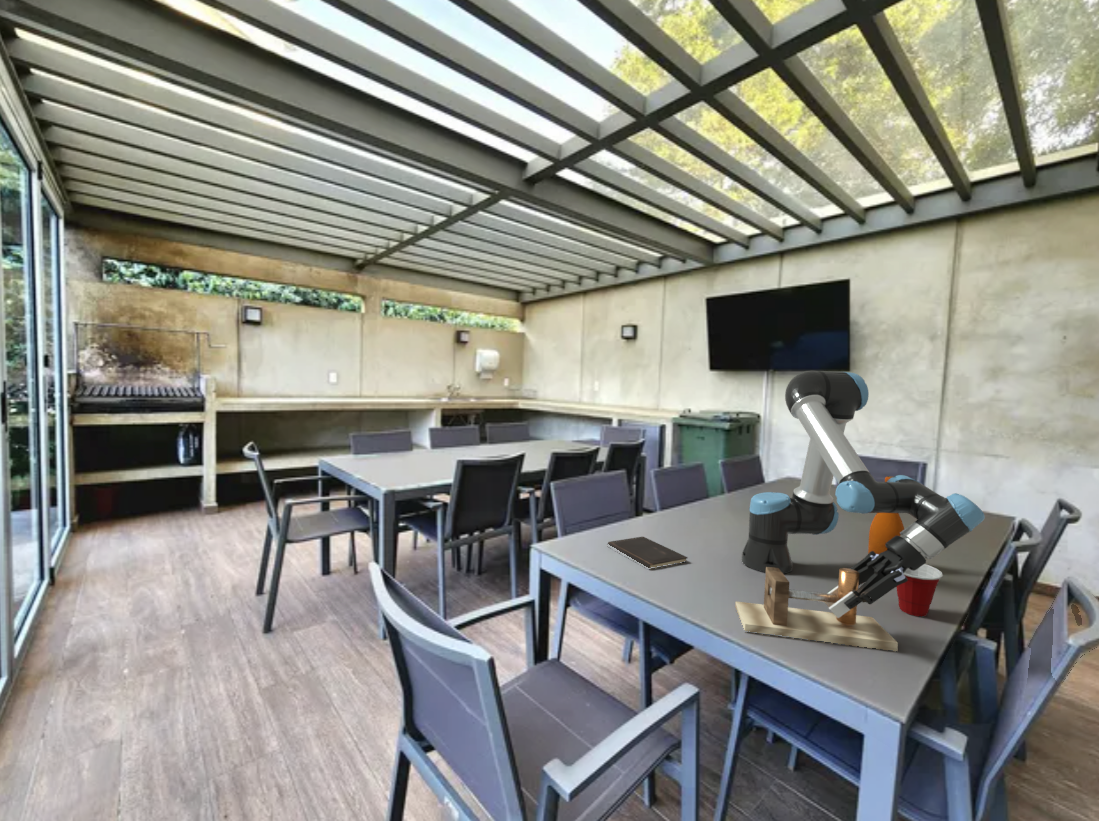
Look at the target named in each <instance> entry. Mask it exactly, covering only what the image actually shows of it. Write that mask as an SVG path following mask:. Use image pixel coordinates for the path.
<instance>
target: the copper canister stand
mask: <svg viewBox="0 0 1099 821" xmlns="http://www.w3.org/2000/svg"><path fill="white" fill-rule="evenodd" d="M770 587H771V588H772V590H771V596H770V591H769V590H770ZM789 589H790V581H789V580H788V578H787V577H786V575H785V573H782V572H781V570H780V569H779V568H774V567H766V572H765V579H764V595H763V604H761V603H753V602H744V601H735V606H734V607H735V608H736V610H737V612H736V614H737V613H738V615H739V617H738V619H739V618H740V619H739V621H740V620H741V622H740V624H741V623H742V624H741V626H742V625H743V627H742V629H743V628H744V629H743V631H744V630H745V631H748V632H749V631H750V632H757V633H765V634H773V635H774V634H775V635H782V636H789V637H794V638H802V639H808V640H807V641H810V640H816V641H815V642H817V641H824V642H823V643H825V642H831V643H830V644H833V643H838V644H837V645H841V644H845V645H844V646H849V645H852V646H851V647H857V646H859V648H864V647H867V648H866V649H872V648H876V649H875V650H880V649H883V650H882V651H888V650H893V651H892V652H896V651H897V652H898V650H899V649H898V647H899V642H897V640H896V639H895V638H893V636H892V635H891V634H890V633H889V632H888V631H887V630H886V629H885V628H884V627H883V626H882V625H881V624H879V622H877V620H876V619H875V618H874V617H873V616H865V615H857V614H856V624H855V625H848V624H844V623H841V622H839V621H838V620H837V619H836V616H835V615H834V613H833V612H832V611H831V612H830V611H822V610H821V611H820V610H814V609H813V610H812V609H805V608H796V607H790V606H789V599H790V598H789ZM736 610H735V611H736ZM738 615H737V616H738ZM794 638H793V639H794ZM802 639H801V640H802Z"/></svg>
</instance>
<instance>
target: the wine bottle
mask: <svg viewBox="0 0 1099 821" xmlns="http://www.w3.org/2000/svg"><path fill="white" fill-rule="evenodd" d="M893 477H894V476H890V475H889V476H885V478H884V482H887V481H888V480H889V479H890V478H893ZM904 529H905V526H904V523H903V520H902V518H901V516H900V513H875V515H874V517H873V519H872V521H871V523H870V526H869V532H868V545H867V546H868V549H867V550H868V551H867V552H868V553H867V555H868V554H869V553H870V552H871V551H874V552H875V553H876V554H880V553H882V552H884V551H886V550H887V548H886V546H885V544H886V543H887V542H888V541H889V540H891V539H892V538H893V537H895V536H901V535H900V532H901V531H903V530H904Z"/></svg>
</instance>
